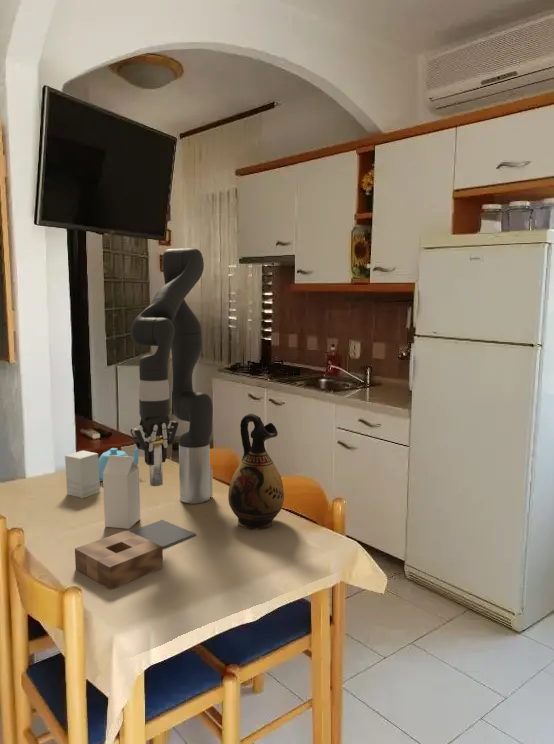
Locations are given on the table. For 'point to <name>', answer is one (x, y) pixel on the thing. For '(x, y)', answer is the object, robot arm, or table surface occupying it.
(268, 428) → the ceramic jug
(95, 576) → the walnut block
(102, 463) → the teapot
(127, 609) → the table surface
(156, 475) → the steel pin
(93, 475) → the supplement box
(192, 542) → the table surface
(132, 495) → the milk carton
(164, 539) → the rubber mat
